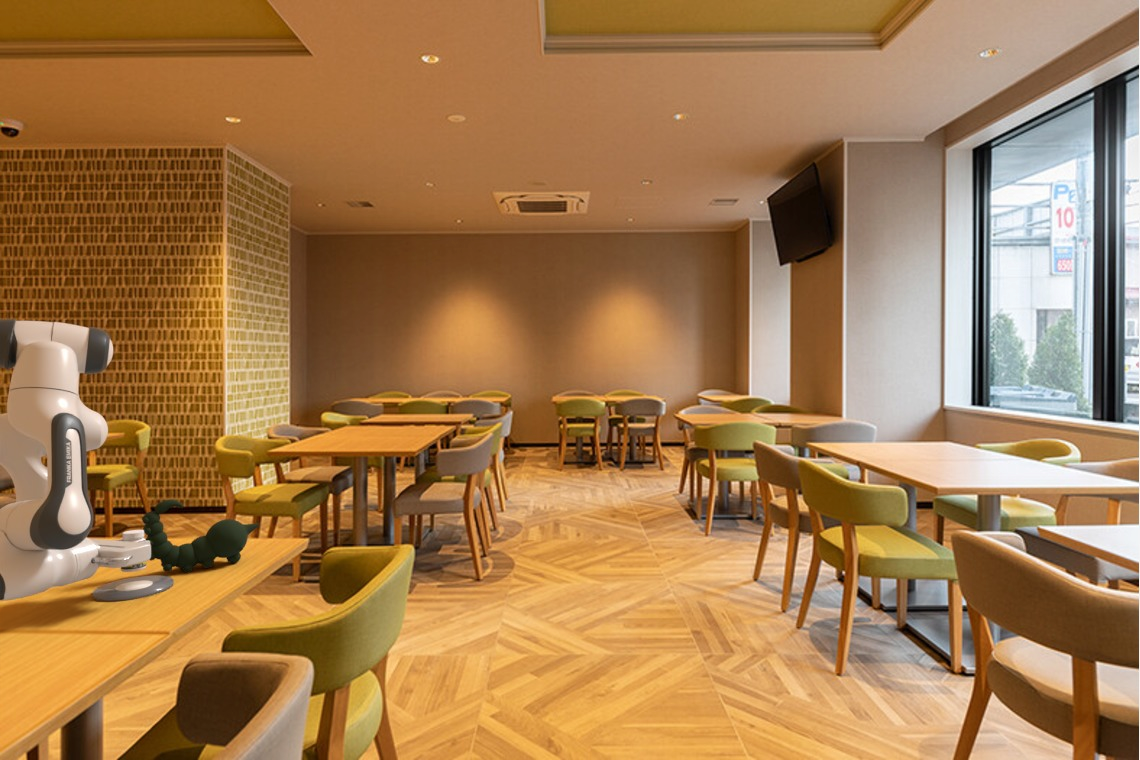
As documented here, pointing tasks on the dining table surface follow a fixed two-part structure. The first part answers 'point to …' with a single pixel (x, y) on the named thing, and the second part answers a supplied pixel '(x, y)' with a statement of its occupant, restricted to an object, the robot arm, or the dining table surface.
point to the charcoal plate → (133, 588)
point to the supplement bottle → (134, 537)
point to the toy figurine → (195, 541)
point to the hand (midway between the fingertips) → (137, 543)
